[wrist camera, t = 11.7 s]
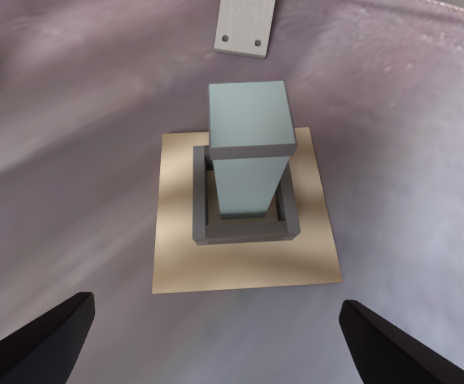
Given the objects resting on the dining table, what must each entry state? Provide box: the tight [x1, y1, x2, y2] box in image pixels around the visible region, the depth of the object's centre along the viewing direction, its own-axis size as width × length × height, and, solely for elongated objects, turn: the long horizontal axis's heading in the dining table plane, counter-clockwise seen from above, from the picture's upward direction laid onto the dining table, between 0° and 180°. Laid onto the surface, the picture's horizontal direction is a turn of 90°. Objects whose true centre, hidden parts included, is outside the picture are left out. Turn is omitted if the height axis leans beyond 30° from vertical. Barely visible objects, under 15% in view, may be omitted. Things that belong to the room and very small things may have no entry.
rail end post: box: [207, 80, 298, 220], centre depth 18 cm, size 4×4×12 cm
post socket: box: [152, 127, 343, 294], centre depth 22 cm, size 16×16×4 cm
